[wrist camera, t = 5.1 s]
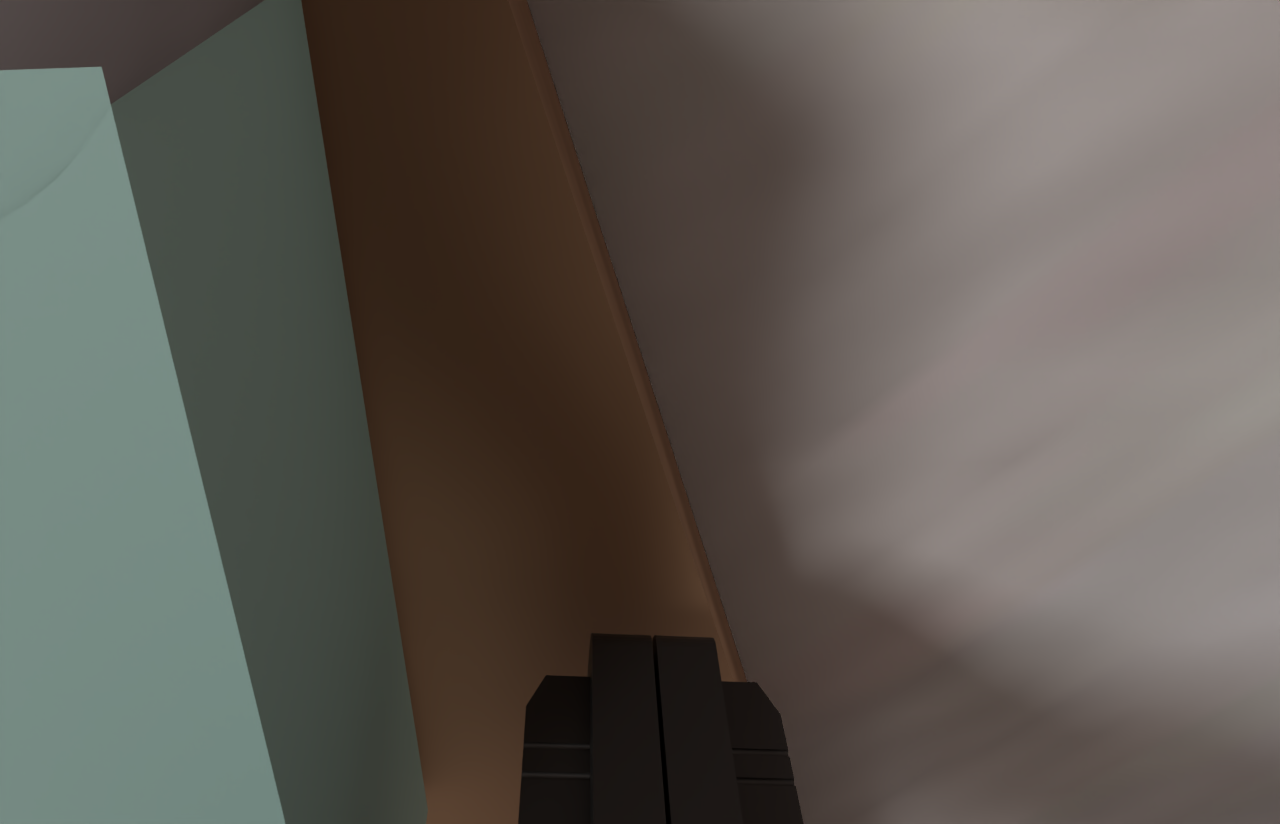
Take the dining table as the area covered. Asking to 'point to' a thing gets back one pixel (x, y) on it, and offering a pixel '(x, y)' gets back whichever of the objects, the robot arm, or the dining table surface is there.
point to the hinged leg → (184, 436)
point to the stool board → (494, 383)
